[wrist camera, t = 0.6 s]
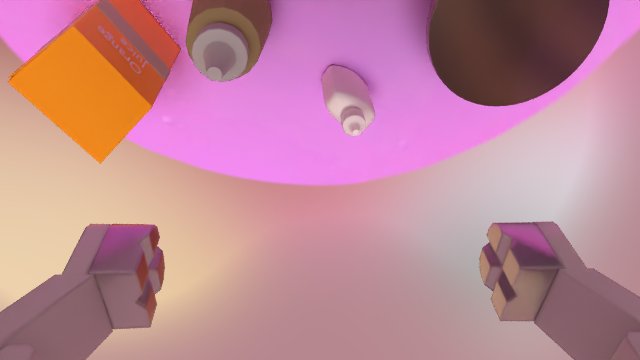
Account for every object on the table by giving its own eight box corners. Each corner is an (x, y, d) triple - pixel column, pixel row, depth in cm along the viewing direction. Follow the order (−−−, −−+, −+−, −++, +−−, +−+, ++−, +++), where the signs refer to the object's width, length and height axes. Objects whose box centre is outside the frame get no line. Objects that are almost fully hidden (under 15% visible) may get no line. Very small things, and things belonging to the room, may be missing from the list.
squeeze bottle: (214, -50, 49) (181, 0, 34) (286, -10, 51) (285, 53, 37) (186, 21, 52) (146, 94, 38) (254, 55, 55) (241, 135, 40)
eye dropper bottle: (338, 108, 60) (348, 162, 50) (317, 71, 57) (323, 120, 47) (370, 92, 59) (387, 144, 49) (350, 53, 56) (363, 100, 46)
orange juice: (131, 84, 56) (68, 186, 40) (70, 21, 52) (-29, 107, 36) (182, 48, 54) (137, 140, 38) (123, -21, 50) (43, 50, 33)
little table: (490, -131, 46) (541, -123, 37) (582, -18, 52) (644, 13, 43) (373, 3, 52) (391, 38, 43) (468, 88, 59) (500, 135, 50)
